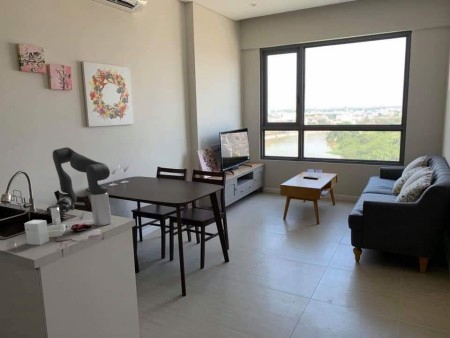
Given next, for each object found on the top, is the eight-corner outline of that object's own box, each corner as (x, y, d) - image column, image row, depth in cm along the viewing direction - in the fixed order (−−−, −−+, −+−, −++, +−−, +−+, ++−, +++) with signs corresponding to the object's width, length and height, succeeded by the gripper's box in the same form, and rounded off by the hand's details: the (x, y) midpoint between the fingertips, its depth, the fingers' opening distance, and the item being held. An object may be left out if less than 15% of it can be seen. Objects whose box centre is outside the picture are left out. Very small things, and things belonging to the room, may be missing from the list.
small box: (49, 241, 166) (46, 220, 164) (40, 245, 161) (37, 223, 159) (36, 240, 168) (33, 219, 167) (27, 244, 163) (23, 223, 161)
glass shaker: (61, 224, 191) (59, 204, 189) (60, 227, 187) (57, 205, 185) (53, 225, 190) (51, 204, 188) (52, 228, 186) (49, 206, 184)
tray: (65, 229, 183) (64, 223, 182) (62, 235, 172) (61, 230, 172) (43, 232, 180) (42, 226, 179) (37, 239, 169) (37, 233, 169)
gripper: (50, 200, 208) (43, 206, 192) (75, 197, 212) (71, 203, 196) (51, 212, 209) (45, 219, 194) (76, 209, 213) (72, 216, 197)
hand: (58, 211), depth 195 cm, fingers open, 8 cm apart
